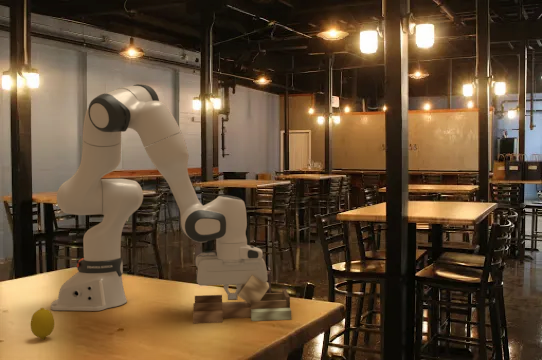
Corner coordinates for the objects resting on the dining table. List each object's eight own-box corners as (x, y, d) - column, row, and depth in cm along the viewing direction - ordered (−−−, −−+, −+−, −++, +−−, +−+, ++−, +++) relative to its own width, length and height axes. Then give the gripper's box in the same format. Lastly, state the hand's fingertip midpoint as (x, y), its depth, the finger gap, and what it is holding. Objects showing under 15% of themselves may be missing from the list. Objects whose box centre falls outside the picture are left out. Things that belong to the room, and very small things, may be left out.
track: (193, 323, 156) (192, 303, 155) (195, 308, 171) (195, 290, 171) (291, 319, 158) (291, 299, 158) (284, 304, 174) (284, 286, 174)
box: (271, 292, 191) (271, 270, 191) (269, 296, 185) (269, 274, 185) (253, 292, 192) (253, 270, 191) (251, 296, 186) (250, 274, 185)
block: (237, 295, 161) (252, 275, 161) (237, 290, 167) (251, 271, 167) (255, 307, 162) (269, 287, 162) (254, 302, 168) (268, 282, 168)
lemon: (35, 336, 146) (34, 305, 145) (57, 335, 146) (56, 304, 146) (27, 343, 140) (26, 311, 140) (51, 342, 141) (50, 310, 140)
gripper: (194, 254, 160) (195, 303, 160) (267, 252, 161) (268, 300, 162) (195, 251, 166) (196, 298, 166) (265, 249, 168) (266, 295, 168)
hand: (232, 299), depth 164 cm, fingers closed
